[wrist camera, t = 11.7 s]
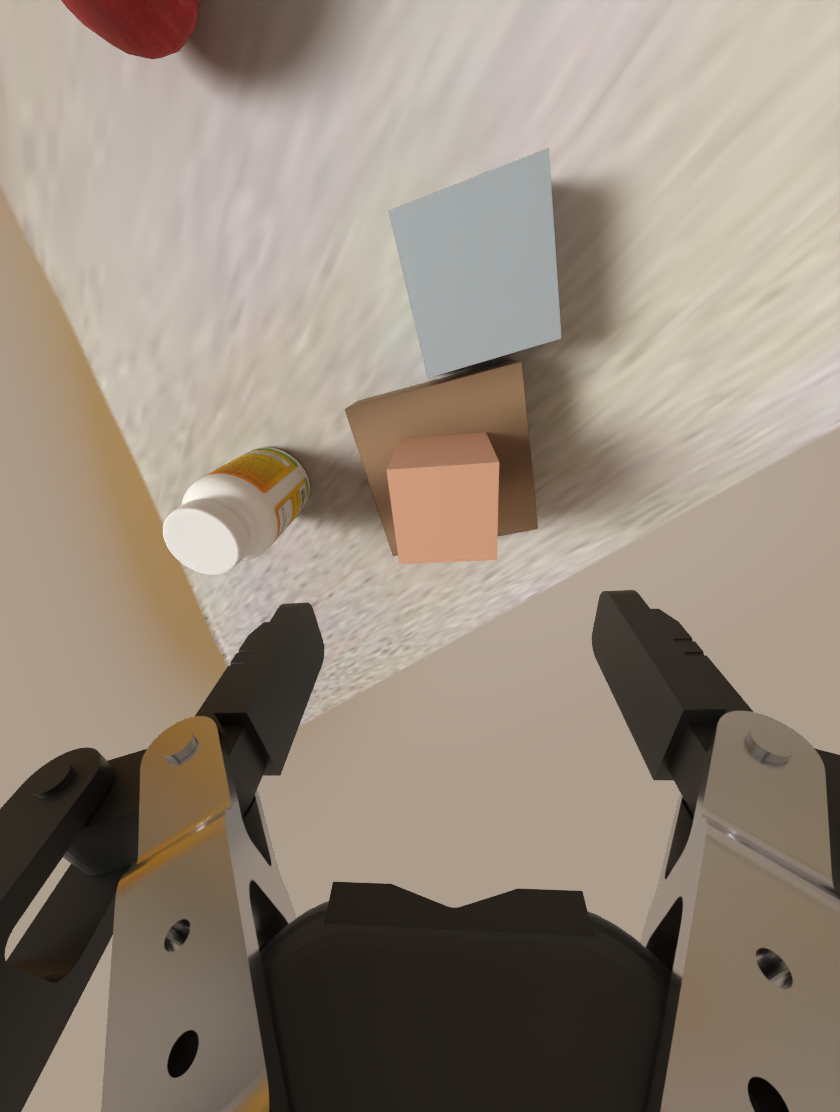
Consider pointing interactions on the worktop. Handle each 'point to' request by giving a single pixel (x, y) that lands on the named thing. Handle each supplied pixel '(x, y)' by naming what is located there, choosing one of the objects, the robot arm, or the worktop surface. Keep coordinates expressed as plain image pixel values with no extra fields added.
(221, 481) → the supplement bottle
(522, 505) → the walnut block
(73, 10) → the red oval lump
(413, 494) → the terracotta block
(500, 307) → the slate block
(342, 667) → the worktop surface
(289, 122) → the worktop surface
